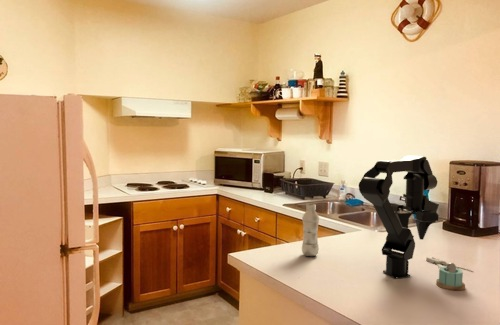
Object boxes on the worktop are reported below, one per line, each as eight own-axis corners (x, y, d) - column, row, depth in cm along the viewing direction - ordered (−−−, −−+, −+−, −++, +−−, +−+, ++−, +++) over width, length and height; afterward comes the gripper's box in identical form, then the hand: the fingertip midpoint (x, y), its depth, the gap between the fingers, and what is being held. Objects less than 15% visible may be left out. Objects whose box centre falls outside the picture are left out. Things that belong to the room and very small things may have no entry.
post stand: (450, 291, 118) (451, 268, 117) (430, 282, 126) (431, 260, 125) (471, 289, 120) (472, 265, 120) (450, 279, 128) (451, 258, 127)
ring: (450, 287, 119) (450, 274, 119) (434, 279, 125) (435, 267, 125) (466, 285, 121) (467, 272, 120) (450, 278, 127) (451, 265, 127)
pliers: (452, 271, 133) (419, 258, 147) (452, 275, 133) (419, 262, 147) (474, 268, 136) (439, 255, 150) (473, 272, 136) (439, 259, 150)
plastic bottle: (321, 255, 153) (323, 204, 151) (312, 259, 148) (313, 206, 146) (308, 252, 157) (309, 202, 156) (298, 255, 152) (299, 204, 151)
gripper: (454, 195, 129) (452, 241, 130) (418, 187, 147) (417, 228, 148) (423, 196, 127) (422, 243, 128) (391, 188, 145) (390, 229, 146)
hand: (413, 235), depth 138 cm, fingers open, 9 cm apart
